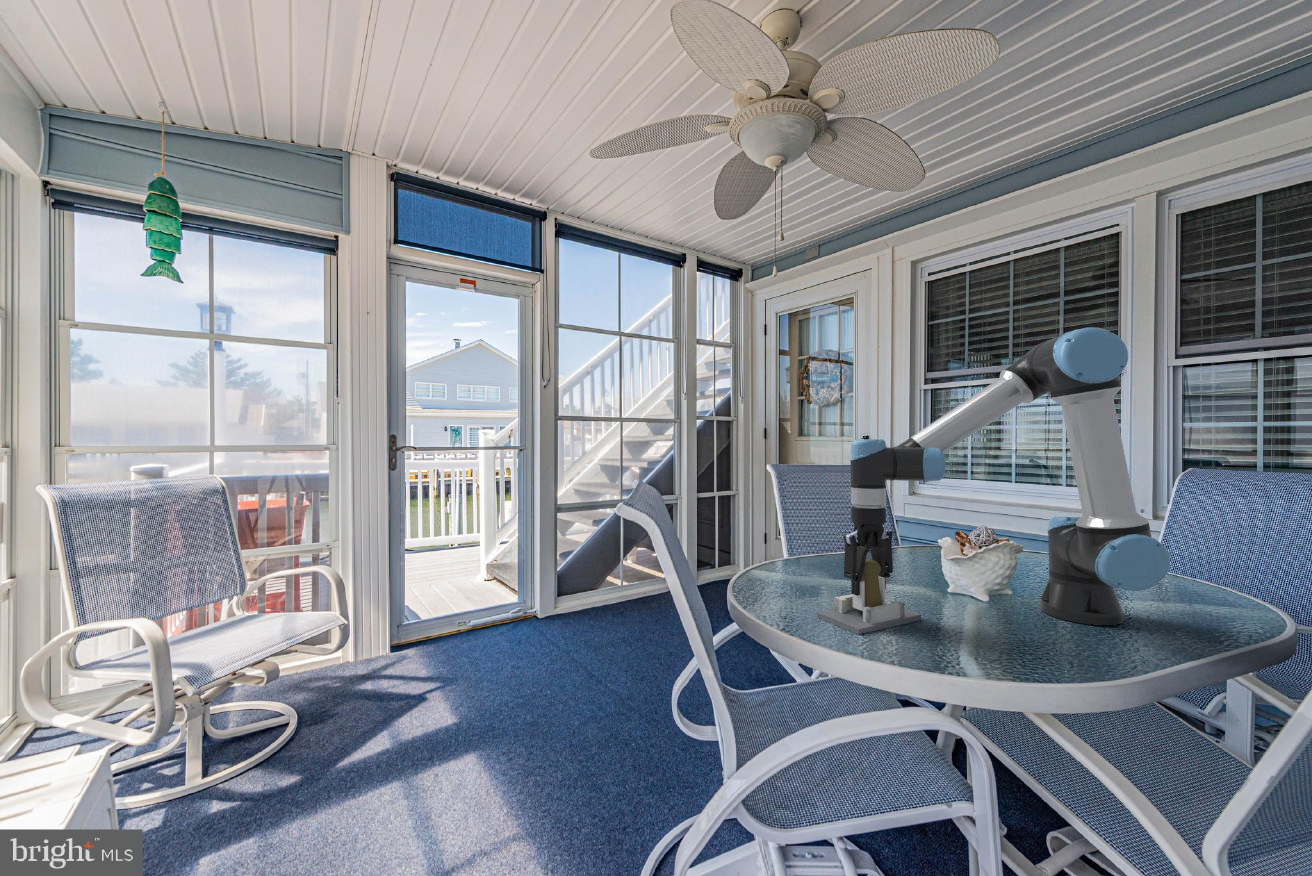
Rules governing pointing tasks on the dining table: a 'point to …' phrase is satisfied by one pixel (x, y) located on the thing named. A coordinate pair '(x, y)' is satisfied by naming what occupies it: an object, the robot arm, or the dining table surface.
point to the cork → (872, 583)
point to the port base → (867, 615)
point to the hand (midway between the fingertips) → (869, 606)
